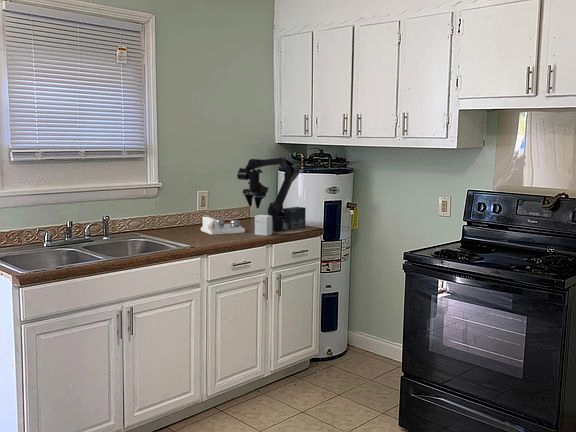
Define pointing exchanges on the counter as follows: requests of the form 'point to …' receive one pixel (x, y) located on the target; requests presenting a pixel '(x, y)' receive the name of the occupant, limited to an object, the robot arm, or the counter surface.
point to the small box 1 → (263, 225)
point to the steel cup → (234, 223)
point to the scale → (212, 227)
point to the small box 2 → (294, 217)
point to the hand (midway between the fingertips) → (253, 207)
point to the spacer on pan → (220, 222)
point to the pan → (228, 227)
